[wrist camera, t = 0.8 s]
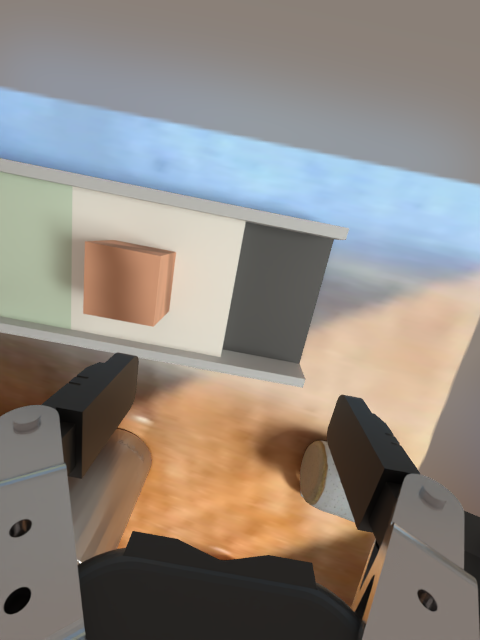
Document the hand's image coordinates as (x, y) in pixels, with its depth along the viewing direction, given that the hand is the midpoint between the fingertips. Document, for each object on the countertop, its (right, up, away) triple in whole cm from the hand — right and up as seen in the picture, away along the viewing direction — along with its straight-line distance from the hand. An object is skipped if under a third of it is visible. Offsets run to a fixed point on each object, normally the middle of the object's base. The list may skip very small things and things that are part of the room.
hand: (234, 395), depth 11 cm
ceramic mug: (+12, -16, +26) cm, 33 cm away
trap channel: (-13, +9, +19) cm, 25 cm away
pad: (-21, +10, +19) cm, 30 cm away
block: (-9, +7, +17) cm, 21 cm away
